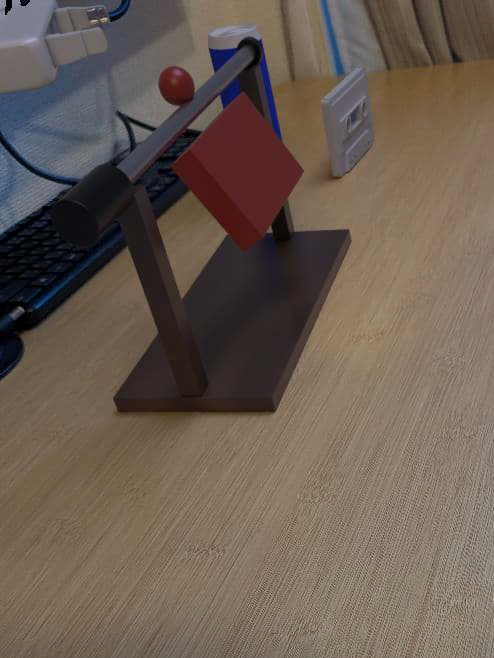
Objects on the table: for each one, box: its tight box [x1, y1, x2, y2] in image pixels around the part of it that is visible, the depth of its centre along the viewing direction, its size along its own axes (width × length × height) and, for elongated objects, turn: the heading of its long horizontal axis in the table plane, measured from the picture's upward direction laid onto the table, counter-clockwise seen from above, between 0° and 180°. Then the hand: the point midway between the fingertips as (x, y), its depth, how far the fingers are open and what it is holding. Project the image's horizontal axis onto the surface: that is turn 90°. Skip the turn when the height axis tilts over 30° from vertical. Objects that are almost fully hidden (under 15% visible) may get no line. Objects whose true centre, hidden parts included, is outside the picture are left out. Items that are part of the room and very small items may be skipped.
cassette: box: [320, 66, 375, 178], centre depth 89 cm, size 12×2×8 cm, turn 162°
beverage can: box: [207, 23, 284, 143], centre depth 83 cm, size 5×5×15 cm
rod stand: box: [112, 64, 352, 413], centre depth 63 cm, size 12×27×15 cm, turn 170°
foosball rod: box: [50, 36, 305, 252], centre depth 57 cm, size 3×33×11 cm, turn 171°
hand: (106, 26), depth 74 cm, fingers open, 8 cm apart
